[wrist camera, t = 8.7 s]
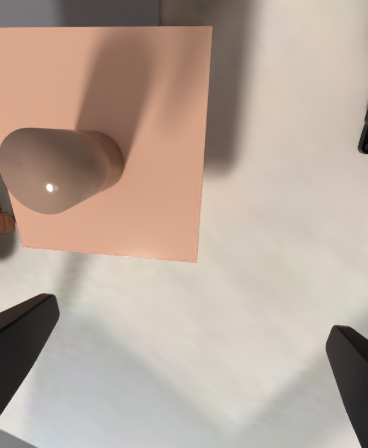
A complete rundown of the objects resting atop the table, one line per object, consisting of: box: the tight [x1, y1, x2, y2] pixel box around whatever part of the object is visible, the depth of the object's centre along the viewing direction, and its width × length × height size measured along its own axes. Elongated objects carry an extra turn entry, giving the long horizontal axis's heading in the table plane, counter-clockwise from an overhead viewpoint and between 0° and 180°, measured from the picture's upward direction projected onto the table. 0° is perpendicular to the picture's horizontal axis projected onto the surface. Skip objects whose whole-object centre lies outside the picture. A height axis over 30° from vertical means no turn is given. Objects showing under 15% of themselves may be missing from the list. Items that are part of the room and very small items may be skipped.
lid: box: [0, 26, 212, 263], centre depth 11 cm, size 12×12×5 cm
